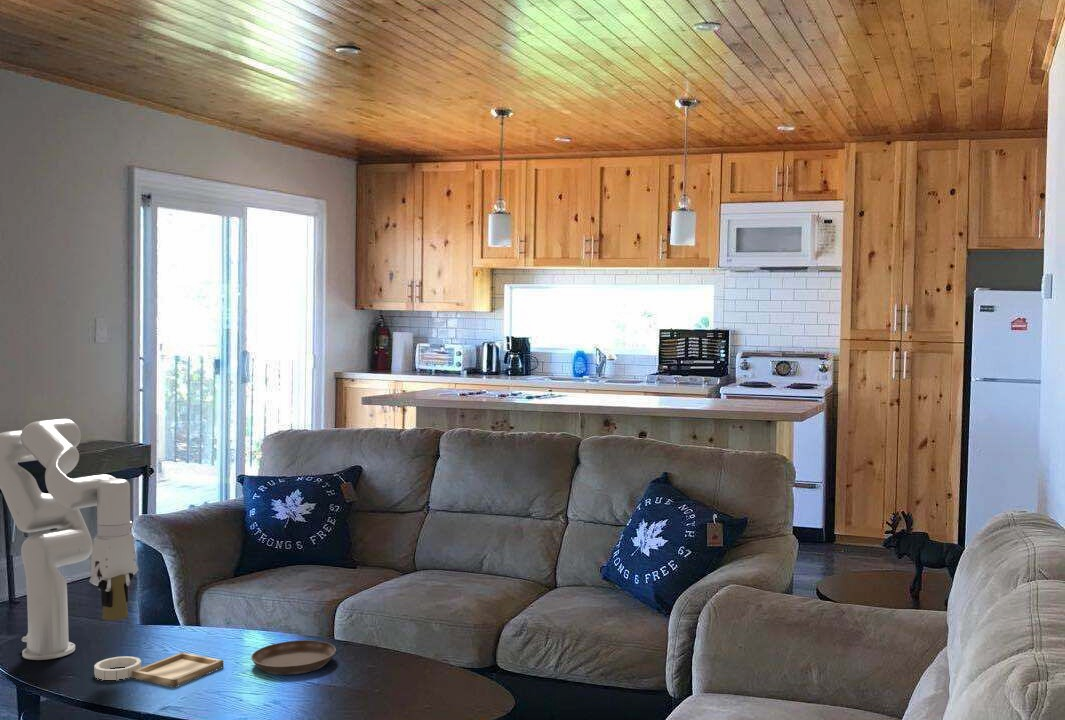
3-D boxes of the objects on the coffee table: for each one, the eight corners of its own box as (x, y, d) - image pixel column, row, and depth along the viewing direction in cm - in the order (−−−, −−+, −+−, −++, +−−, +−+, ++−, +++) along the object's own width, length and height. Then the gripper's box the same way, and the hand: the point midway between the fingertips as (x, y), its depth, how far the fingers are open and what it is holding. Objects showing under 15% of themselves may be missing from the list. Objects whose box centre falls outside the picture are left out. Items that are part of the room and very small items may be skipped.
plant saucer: (234, 673, 266) (233, 659, 266) (283, 648, 285) (283, 635, 285) (305, 683, 259) (305, 669, 258) (351, 657, 278) (351, 644, 277)
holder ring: (85, 676, 264) (85, 666, 264) (120, 663, 273) (120, 654, 273) (115, 683, 259) (115, 673, 259) (150, 670, 268) (150, 660, 268)
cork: (119, 621, 262) (118, 576, 261) (96, 619, 263) (96, 574, 263) (133, 614, 268) (132, 570, 267) (111, 612, 269) (110, 568, 268)
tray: (132, 678, 262) (132, 671, 262) (182, 659, 276) (182, 652, 276) (174, 687, 256) (174, 679, 256) (223, 667, 270) (223, 660, 270)
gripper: (130, 522, 273) (131, 593, 274) (74, 534, 259) (75, 610, 260) (151, 525, 270) (152, 598, 271) (96, 538, 255) (97, 615, 256)
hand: (114, 603), depth 265 cm, fingers closed on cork, 3 cm apart
